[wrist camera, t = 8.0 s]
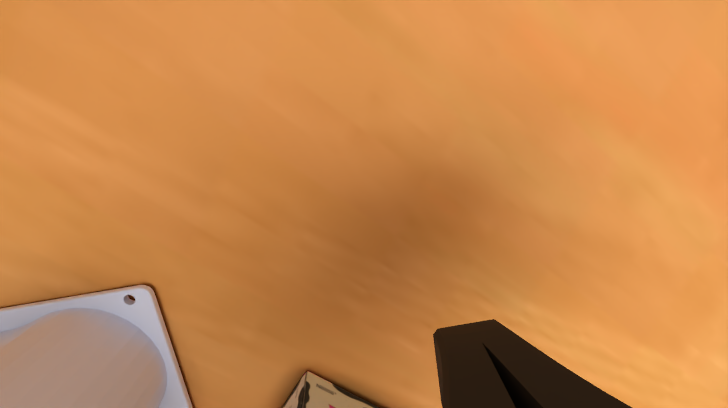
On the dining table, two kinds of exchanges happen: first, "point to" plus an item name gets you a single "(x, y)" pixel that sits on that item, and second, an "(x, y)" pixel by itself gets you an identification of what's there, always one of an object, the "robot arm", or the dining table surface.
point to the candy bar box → (322, 395)
